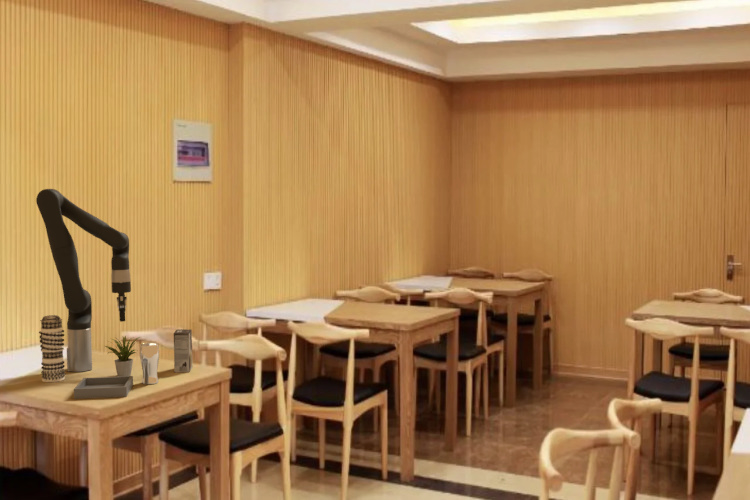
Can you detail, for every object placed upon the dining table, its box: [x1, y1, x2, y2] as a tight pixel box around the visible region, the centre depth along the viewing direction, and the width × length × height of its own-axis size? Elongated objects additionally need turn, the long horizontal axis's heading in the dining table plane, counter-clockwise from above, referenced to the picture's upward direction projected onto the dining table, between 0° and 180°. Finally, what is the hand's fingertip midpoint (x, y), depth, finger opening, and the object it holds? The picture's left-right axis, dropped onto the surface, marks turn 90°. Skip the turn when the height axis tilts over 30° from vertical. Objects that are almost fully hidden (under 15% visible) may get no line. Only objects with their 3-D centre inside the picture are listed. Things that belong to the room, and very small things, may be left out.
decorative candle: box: [38, 314, 66, 383], centre depth 330 cm, size 9×9×25 cm
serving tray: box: [73, 375, 134, 400], centre depth 311 cm, size 18×18×4 cm
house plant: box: [104, 335, 141, 377], centre depth 338 cm, size 14×14×16 cm
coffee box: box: [173, 328, 193, 373], centre depth 347 cm, size 9×6×16 cm
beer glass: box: [139, 342, 160, 385], centre depth 324 cm, size 7×7×15 cm
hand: (122, 320), depth 348 cm, fingers open, 8 cm apart
